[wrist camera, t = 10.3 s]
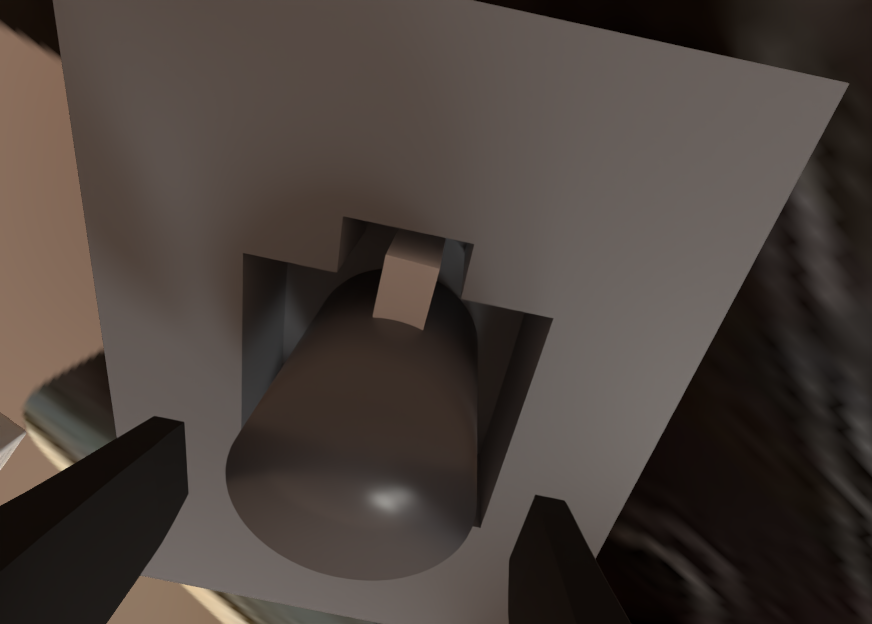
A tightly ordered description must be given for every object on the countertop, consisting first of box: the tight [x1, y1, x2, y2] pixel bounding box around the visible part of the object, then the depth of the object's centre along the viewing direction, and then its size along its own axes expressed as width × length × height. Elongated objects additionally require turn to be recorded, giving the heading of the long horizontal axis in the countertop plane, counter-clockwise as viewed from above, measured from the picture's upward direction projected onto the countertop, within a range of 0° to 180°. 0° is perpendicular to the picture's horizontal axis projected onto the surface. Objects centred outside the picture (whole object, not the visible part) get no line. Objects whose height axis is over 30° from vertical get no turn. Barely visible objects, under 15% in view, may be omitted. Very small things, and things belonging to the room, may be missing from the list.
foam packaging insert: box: [53, 0, 849, 624], centre depth 14 cm, size 18×14×4 cm
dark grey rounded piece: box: [225, 228, 478, 581], centre depth 12 cm, size 6×5×6 cm
